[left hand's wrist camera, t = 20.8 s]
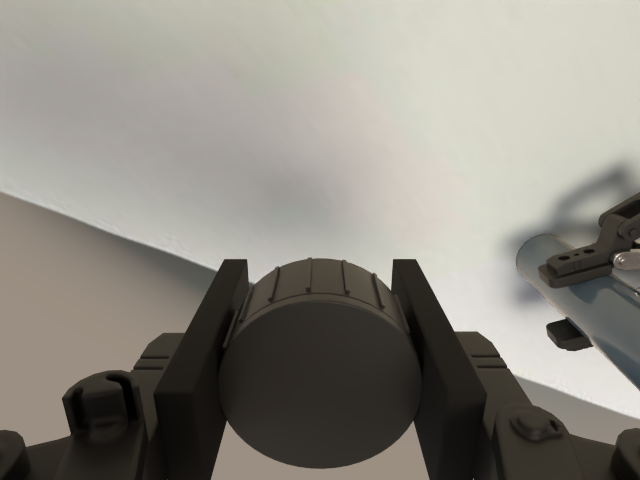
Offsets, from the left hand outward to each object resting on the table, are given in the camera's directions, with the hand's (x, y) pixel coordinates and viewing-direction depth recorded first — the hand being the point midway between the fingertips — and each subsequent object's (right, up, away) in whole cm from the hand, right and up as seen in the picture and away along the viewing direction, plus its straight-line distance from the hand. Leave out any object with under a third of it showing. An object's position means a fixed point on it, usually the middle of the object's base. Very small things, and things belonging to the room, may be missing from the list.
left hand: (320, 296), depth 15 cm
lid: (0, -2, -4) cm, 4 cm away
